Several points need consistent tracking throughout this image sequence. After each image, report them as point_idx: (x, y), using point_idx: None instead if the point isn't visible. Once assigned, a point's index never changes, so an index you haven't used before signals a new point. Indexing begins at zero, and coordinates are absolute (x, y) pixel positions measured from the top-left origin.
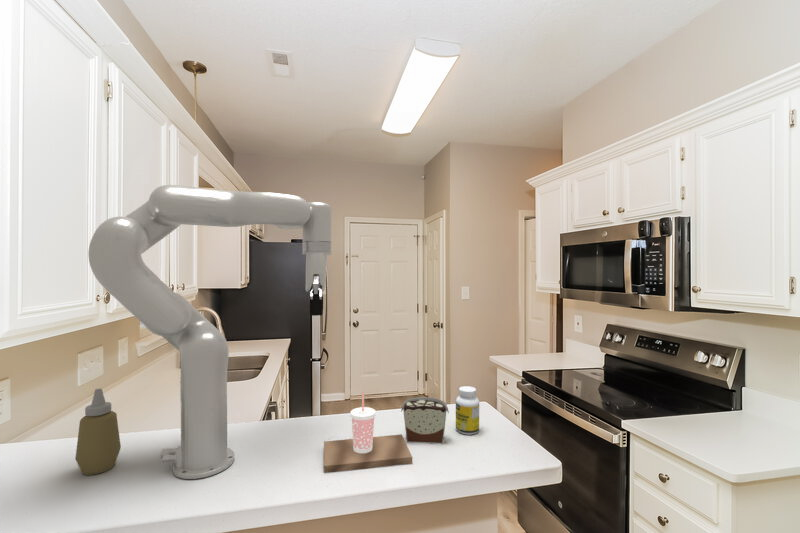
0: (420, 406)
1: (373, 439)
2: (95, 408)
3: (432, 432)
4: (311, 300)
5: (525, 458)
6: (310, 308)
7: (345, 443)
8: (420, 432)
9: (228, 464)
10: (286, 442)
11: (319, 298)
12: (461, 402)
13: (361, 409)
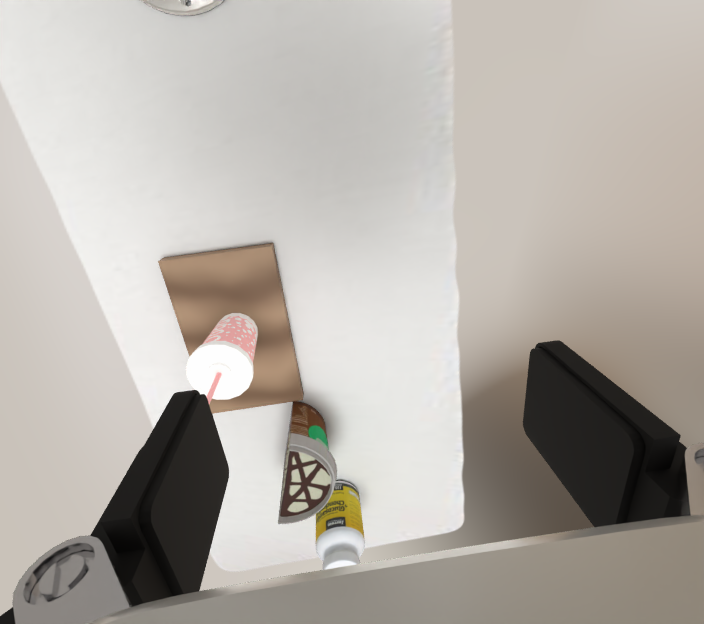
0: (286, 477)
1: (280, 349)
2: None
3: (286, 455)
4: (114, 530)
5: (236, 547)
6: (151, 440)
7: (261, 294)
8: (289, 436)
9: (156, 8)
10: (301, 143)
11: (602, 504)
12: (324, 539)
13: (228, 370)
